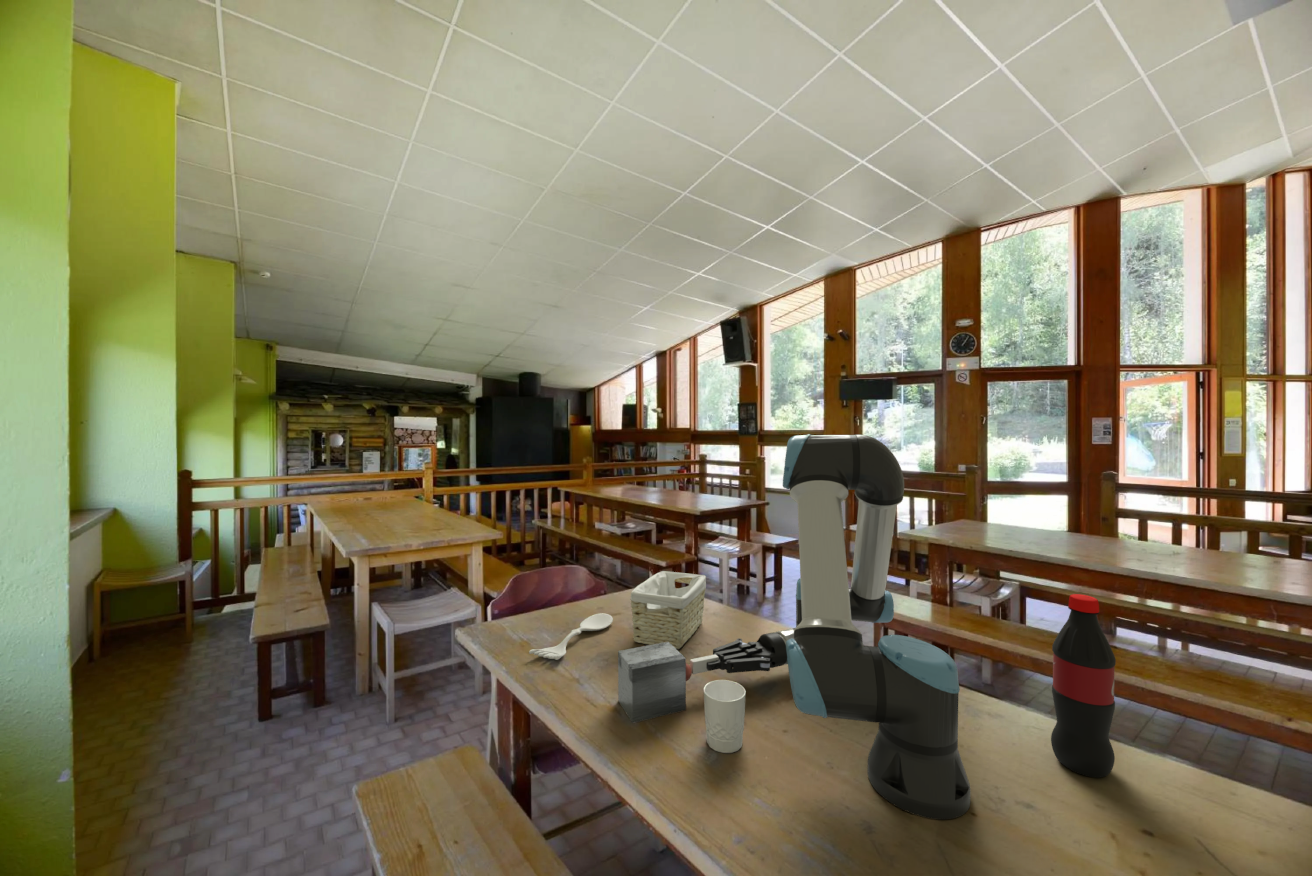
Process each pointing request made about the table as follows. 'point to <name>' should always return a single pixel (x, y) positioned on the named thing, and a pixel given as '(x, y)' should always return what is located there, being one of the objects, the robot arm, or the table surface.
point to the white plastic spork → (588, 624)
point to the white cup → (724, 715)
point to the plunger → (688, 672)
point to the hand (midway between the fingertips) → (691, 666)
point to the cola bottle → (1083, 691)
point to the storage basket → (667, 608)
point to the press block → (651, 681)
